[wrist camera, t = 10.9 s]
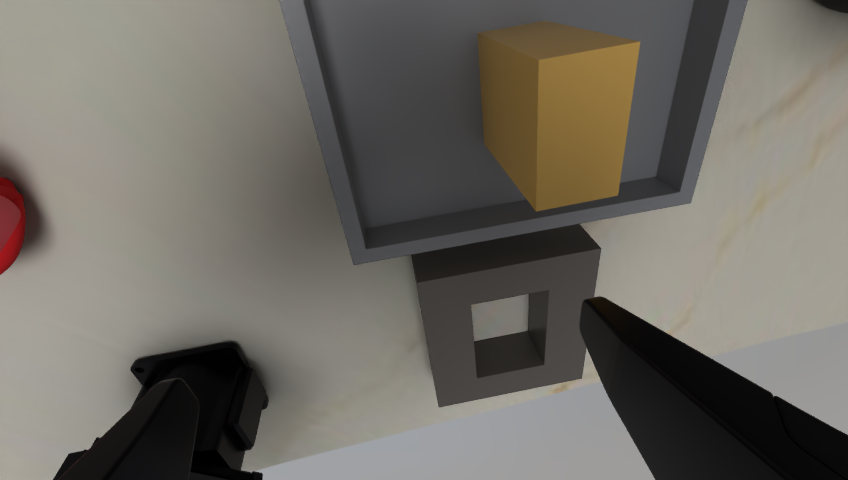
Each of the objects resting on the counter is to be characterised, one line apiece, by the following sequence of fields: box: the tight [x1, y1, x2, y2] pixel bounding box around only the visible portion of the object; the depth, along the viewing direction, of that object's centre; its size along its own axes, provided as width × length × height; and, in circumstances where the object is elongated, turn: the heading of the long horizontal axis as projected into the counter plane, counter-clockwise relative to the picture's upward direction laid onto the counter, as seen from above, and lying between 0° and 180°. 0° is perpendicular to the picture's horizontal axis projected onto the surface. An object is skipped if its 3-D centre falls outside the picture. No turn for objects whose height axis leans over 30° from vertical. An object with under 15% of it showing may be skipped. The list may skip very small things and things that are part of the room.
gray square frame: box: [411, 224, 601, 407], centre depth 25 cm, size 10×11×3 cm
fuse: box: [477, 21, 640, 212], centre depth 16 cm, size 3×5×7 cm, turn 9°
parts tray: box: [279, 0, 748, 265], centre depth 18 cm, size 18×14×2 cm
